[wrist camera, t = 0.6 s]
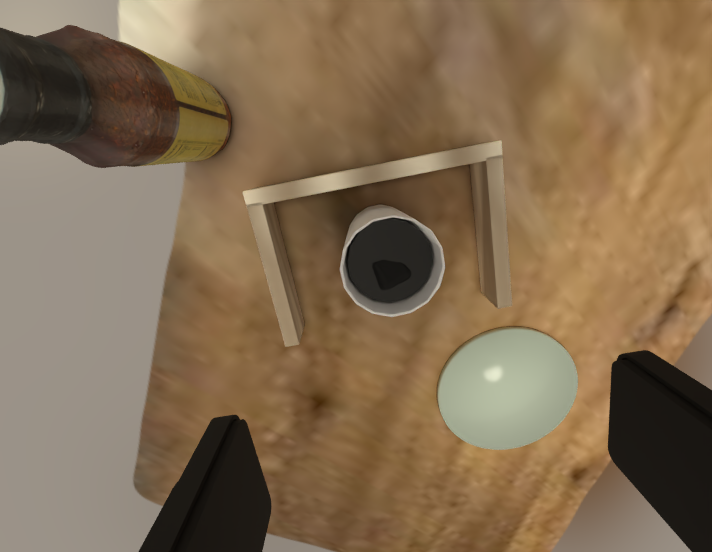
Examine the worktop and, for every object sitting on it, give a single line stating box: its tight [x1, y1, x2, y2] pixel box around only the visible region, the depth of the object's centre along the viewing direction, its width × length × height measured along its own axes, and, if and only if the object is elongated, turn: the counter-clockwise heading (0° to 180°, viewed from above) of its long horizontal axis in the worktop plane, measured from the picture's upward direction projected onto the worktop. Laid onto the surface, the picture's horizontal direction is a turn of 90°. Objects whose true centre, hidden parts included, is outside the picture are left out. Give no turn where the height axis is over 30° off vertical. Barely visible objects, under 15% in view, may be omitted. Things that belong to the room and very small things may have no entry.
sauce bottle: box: [0, 25, 231, 168], centre depth 20 cm, size 6×6×20 cm
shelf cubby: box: [243, 140, 512, 347], centre depth 31 cm, size 19×13×4 cm
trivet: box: [437, 327, 578, 450], centre depth 37 cm, size 14×14×1 cm
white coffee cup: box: [340, 205, 445, 317], centre depth 28 cm, size 7×7×10 cm
